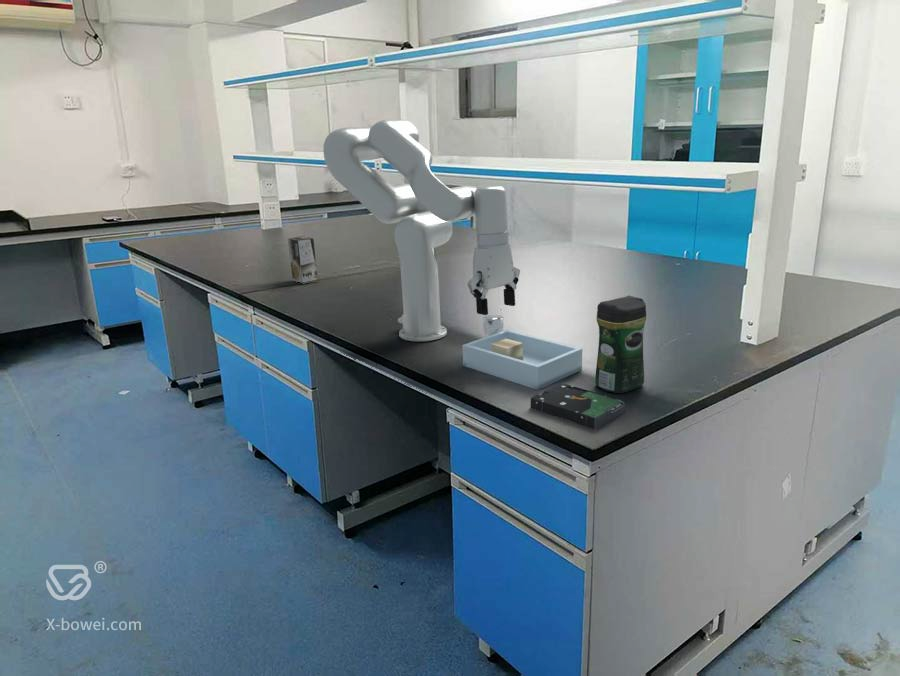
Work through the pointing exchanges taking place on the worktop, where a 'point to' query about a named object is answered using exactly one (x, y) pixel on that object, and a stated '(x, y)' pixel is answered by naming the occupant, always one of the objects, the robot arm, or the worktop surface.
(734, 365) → the worktop surface
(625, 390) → the coffee jar
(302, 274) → the coffee box
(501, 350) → the wooden cube
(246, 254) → the worktop surface
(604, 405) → the disk drive
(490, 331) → the aluminium cylinder
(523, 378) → the tray
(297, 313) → the worktop surface
